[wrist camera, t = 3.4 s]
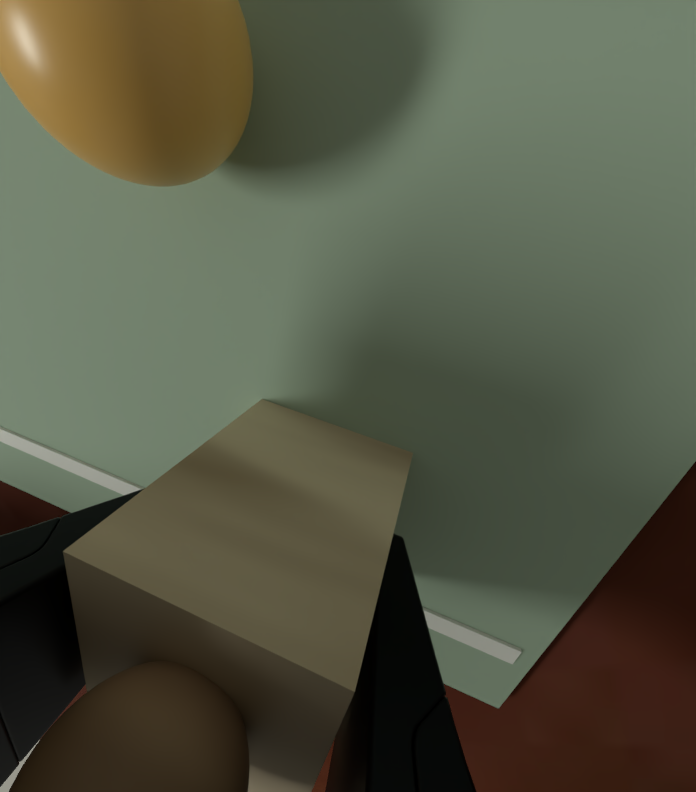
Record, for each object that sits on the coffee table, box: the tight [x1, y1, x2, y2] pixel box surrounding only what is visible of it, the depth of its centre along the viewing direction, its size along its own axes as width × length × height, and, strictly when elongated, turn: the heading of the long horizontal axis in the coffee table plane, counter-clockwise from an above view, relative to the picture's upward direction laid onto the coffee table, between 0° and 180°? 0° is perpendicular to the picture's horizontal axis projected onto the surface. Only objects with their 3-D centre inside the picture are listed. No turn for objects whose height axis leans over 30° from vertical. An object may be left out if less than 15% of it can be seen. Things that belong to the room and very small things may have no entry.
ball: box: [0, 0, 253, 187], centre depth 5 cm, size 4×4×4 cm
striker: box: [9, 399, 413, 792], centre depth 6 cm, size 4×4×8 cm
